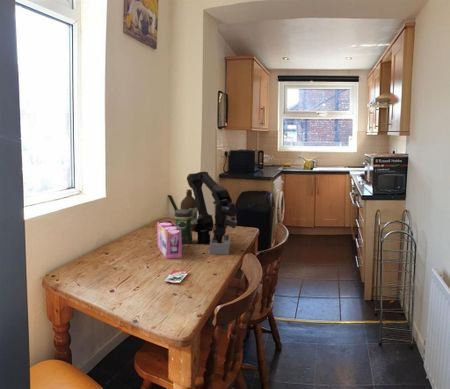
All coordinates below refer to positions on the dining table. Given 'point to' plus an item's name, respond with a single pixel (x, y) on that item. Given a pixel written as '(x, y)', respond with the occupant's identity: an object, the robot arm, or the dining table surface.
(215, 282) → the dining table surface
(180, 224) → the coffee jar
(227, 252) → the tray
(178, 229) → the gum box
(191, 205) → the olive oil
